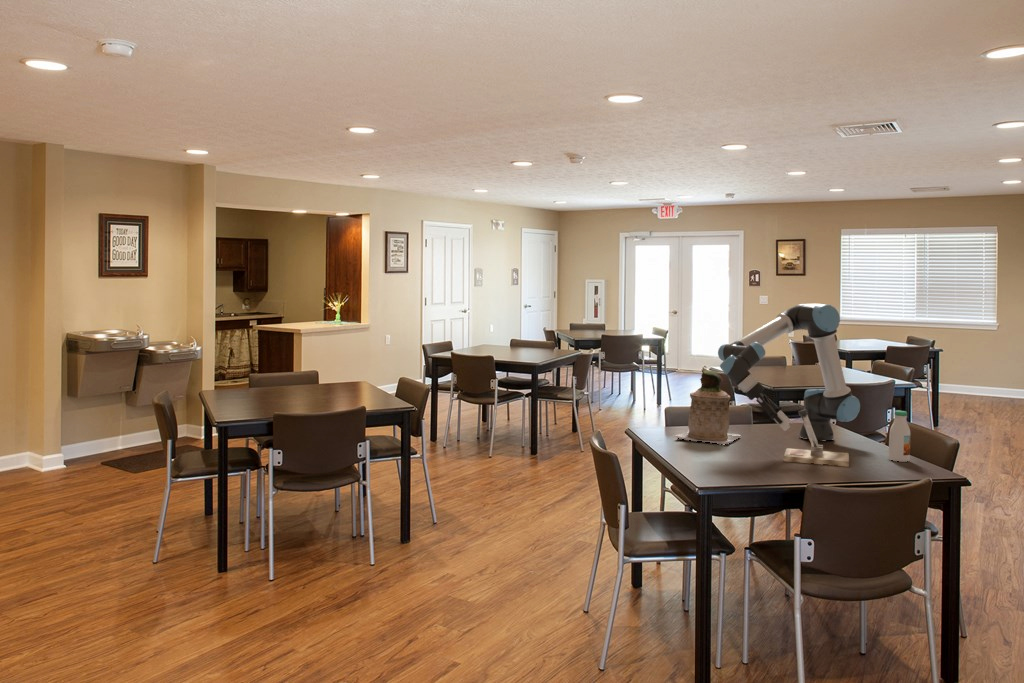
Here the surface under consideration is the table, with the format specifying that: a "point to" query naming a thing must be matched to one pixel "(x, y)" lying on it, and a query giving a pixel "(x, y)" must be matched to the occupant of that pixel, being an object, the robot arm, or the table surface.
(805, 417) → the lever
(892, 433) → the milk bottle
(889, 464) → the table surface
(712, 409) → the cookie jar
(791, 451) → the bench base
